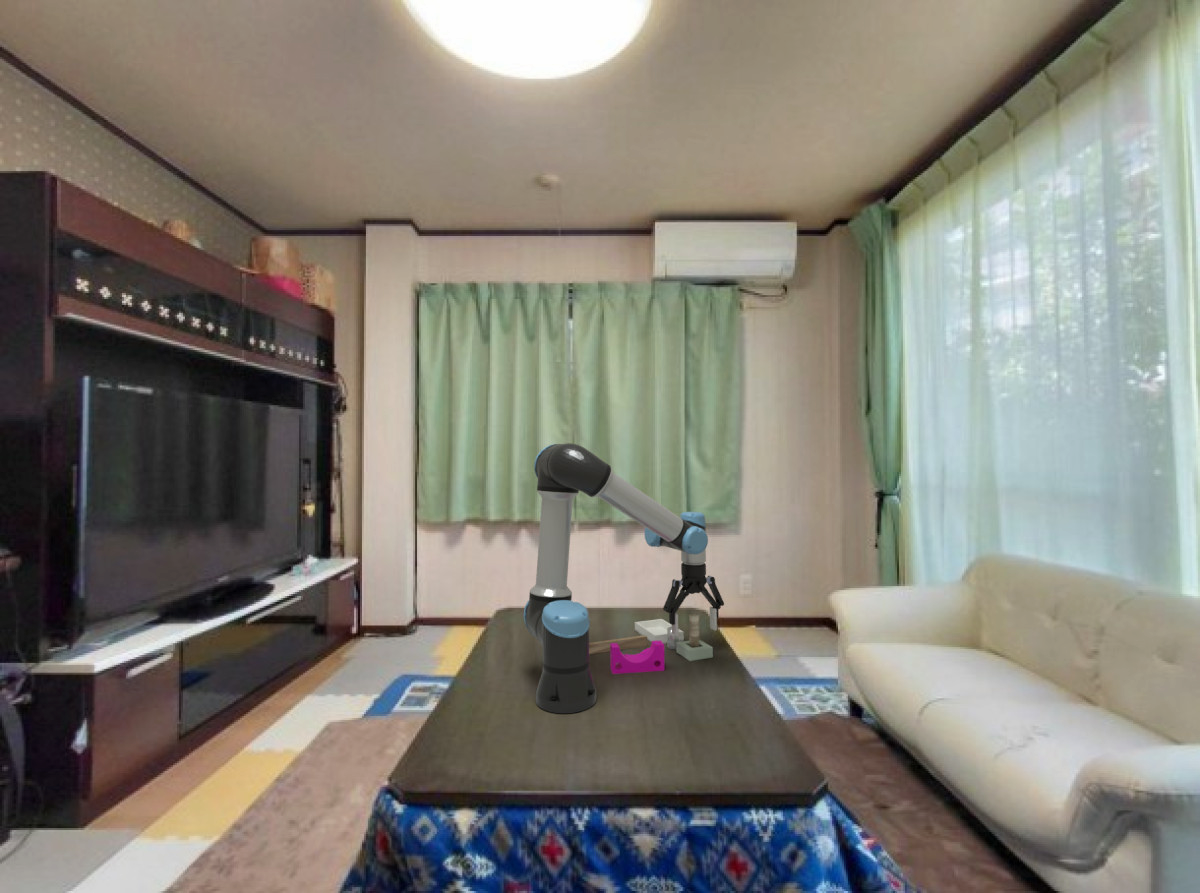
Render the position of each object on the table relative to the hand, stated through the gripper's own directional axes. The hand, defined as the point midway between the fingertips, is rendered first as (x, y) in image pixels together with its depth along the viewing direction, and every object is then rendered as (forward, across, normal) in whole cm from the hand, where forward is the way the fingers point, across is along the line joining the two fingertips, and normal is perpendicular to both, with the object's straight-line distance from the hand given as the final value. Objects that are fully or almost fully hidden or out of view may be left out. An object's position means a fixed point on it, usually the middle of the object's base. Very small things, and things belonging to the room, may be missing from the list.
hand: (694, 632), depth 168 cm
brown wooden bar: (+7, +21, -13) cm, 26 cm away
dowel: (+7, 0, 0) cm, 7 cm away
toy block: (+7, +21, +3) cm, 22 cm away
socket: (+7, 0, 0) cm, 7 cm away
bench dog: (+7, +3, -8) cm, 11 cm away
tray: (+7, +2, -20) cm, 21 cm away
